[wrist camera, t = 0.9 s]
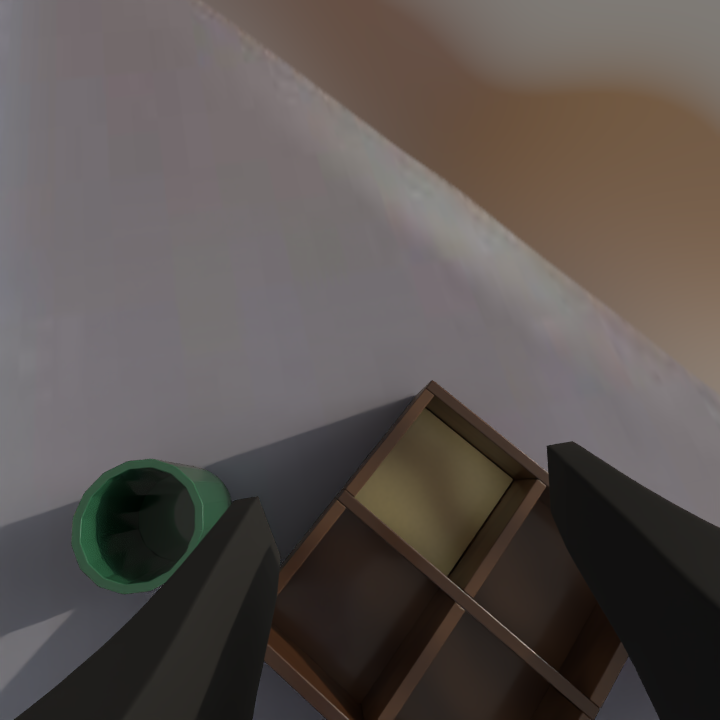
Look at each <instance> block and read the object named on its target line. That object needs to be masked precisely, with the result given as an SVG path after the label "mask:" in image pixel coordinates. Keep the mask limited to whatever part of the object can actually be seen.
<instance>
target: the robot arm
mask: <svg viewBox="0 0 720 720" xmlns="http://www.w3.org/2000/svg"><path fill="white" fill-rule="evenodd" d="M547 457H548V474H549V491H550V507H551V514H552V516H553V518H554V521H555V523H556V525H557V528H558V530H559V532H560V535H561V537H562V539H563V541H564V544H565V546H566V548H567V550H568V552H569V554H570V556H571V557H572V559H573V561H574V563H575V564H576V566H577V568H578V569H579V571H580V573H581V575H582V576H583V578H584V580H585V581H586V583H587V585H588V587H589V588H590V590H591V592H592V593H593V595H594V597H595V598H596V600H597V602H598V603H599V605H600V607H601V609H602V610H603V612H604V614H605V615H606V617H607V619H608V620H609V622H610V624H611V625H612V627H613V629H614V631H615V632H616V634H617V636H618V637H619V639H620V641H621V642H622V644H623V646H624V648H625V650H626V652H627V653H628V655H629V657H630V659H631V661H632V663H633V665H634V666H635V668H636V671H637V673H638V675H639V677H640V679H641V681H642V683H643V685H644V687H645V689H646V691H647V694H648V696H649V698H650V700H651V702H652V704H653V706H654V708H655V710H656V712H657V714H658V717H659V719H660V720H720V528H719V527H717V526H715V525H713V524H711V523H709V522H707V521H705V520H703V519H701V518H699V517H697V516H695V515H694V514H692V513H690V512H688V511H686V510H684V509H683V508H681V507H679V506H677V505H675V504H673V503H671V502H670V501H668V500H666V499H664V498H663V497H661V496H659V495H657V494H656V493H654V492H652V491H651V490H649V489H647V488H646V487H644V486H642V485H641V484H639V483H637V482H636V481H634V480H632V479H631V478H629V477H628V476H626V475H624V474H623V473H621V472H620V471H618V470H617V469H615V468H613V467H612V466H610V465H609V464H607V463H606V462H604V461H603V460H601V459H600V458H598V457H596V456H595V455H593V454H592V453H590V452H589V451H587V450H586V449H584V448H583V447H581V446H580V445H578V444H576V443H575V442H573V441H571V442H566V443H560V444H554V445H549V446H547ZM279 569H280V554H279V551H278V548H277V546H276V543H275V540H274V538H273V535H272V532H271V530H270V527H269V524H268V522H267V519H266V516H265V514H264V511H263V508H262V505H261V503H260V500H259V497H258V496H257V497H251V498H245V499H240V500H235V501H234V502H233V503H232V504H231V505H230V507H229V508H228V509H227V510H226V511H225V512H224V514H223V515H222V516H221V517H220V519H219V520H218V521H217V522H216V523H215V525H214V526H213V527H212V528H211V530H210V531H209V532H208V533H207V535H206V536H205V537H204V538H203V539H202V541H201V542H200V543H199V544H198V545H197V547H196V548H195V549H194V550H193V551H192V553H191V554H190V555H189V556H188V557H187V559H186V560H185V561H184V562H183V563H182V565H181V566H180V567H179V568H178V569H177V570H176V571H175V572H174V573H173V575H172V576H171V577H170V578H169V579H168V580H167V581H166V582H165V583H164V585H163V586H162V587H161V588H160V589H159V590H158V591H157V592H156V593H155V594H154V596H153V597H152V598H151V599H150V600H149V601H148V602H147V603H146V604H145V605H144V606H143V607H142V608H141V609H140V610H139V611H138V612H137V613H136V614H135V615H134V616H133V617H132V618H131V619H130V621H128V622H127V623H126V624H125V625H124V626H123V627H122V628H121V629H120V630H119V631H118V632H117V633H116V634H115V635H114V636H113V637H112V638H111V639H110V640H109V641H108V642H106V643H105V644H104V645H103V646H102V647H101V648H100V649H99V650H98V651H97V652H95V653H94V654H93V655H92V656H91V657H90V658H88V659H87V660H86V661H85V662H84V663H83V664H81V665H80V666H79V667H78V668H77V669H76V670H74V671H73V672H72V673H71V674H70V675H69V676H67V677H66V678H65V679H64V680H63V681H62V682H61V683H59V684H58V685H57V686H56V687H55V688H53V689H52V690H51V691H50V692H48V693H47V694H46V695H45V696H43V697H42V698H41V699H40V700H38V701H37V702H36V703H35V704H33V705H32V706H31V707H30V708H28V709H27V710H26V711H24V712H23V713H22V714H20V715H19V716H18V717H16V718H15V719H14V720H252V719H253V713H254V707H255V701H256V695H257V690H258V686H259V681H260V676H261V672H262V667H263V662H264V657H265V653H266V648H267V643H268V639H269V634H270V629H271V624H272V619H273V615H274V610H275V605H276V599H277V592H278V582H279Z"/></svg>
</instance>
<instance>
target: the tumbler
mask: <svg viewBox="0 0 720 720" xmlns="http://www.w3.org/2000/svg"><path fill="white" fill-rule="evenodd" d="M231 504H232V501H231V497H230V494H229V492H228V490H227V488H226V486H225V485H224V484H223V482H222V481H221V480H220V479H219V478H218V477H217V476H215V475H214V474H213V473H211V472H209V471H207V470H204V469H201V468H197V467H194V466H190V465H184V464H179V463H173V462H167V461H162V460H156V459H145V460H134V461H128V462H125V463H123V464H121V465H119V466H117V467H115V468H113V469H111V470H109V471H106V472H105V473H103V474H102V475H101V476H100V477H99V478H98V479H97V480H96V481H95V482H94V483H93V484H92V485H91V486H90V487H89V488H88V489H87V490H86V491H85V493H84V494H83V497H82V499H81V501H80V503H79V505H78V508H77V510H76V512H75V514H74V516H73V522H72V538H71V544H72V545H71V546H72V549H73V551H74V554H75V557H76V559H77V562H78V565H79V568H80V569H81V570H82V571H83V572H84V573H85V574H86V575H87V576H88V577H89V578H90V579H91V580H92V581H93V582H94V583H95V584H96V585H97V586H99V587H101V588H104V589H107V590H110V591H114V592H117V593H120V594H132V593H140V592H148V591H152V590H154V589H155V588H157V587H159V586H161V585H163V584H164V583H165V582H166V581H167V580H168V579H169V578H170V577H171V576H172V575H173V573H174V572H175V571H176V570H177V569H178V568H179V567H180V566H181V565H182V563H183V562H184V561H185V560H186V559H187V557H188V556H189V555H190V554H191V553H192V551H193V550H194V549H195V548H196V547H197V545H198V544H199V543H200V542H201V541H202V539H203V538H204V537H205V536H206V535H207V533H208V532H209V531H210V530H211V528H212V527H213V526H214V525H215V523H216V522H217V521H218V520H219V519H220V517H221V516H222V515H223V514H224V512H225V511H226V510H227V509H228V508H229V507H230V505H231Z"/></svg>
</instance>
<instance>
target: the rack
mask: <svg viewBox="0 0 720 720" xmlns="http://www.w3.org/2000/svg"><path fill="white" fill-rule="evenodd" d="M628 656H629V655H628V653H627V652H626V650H625V648H624V646H623V644H622V642H621V641H620V639H619V637H618V636H617V634H616V632H615V631H614V629H613V627H612V625H611V624H610V622H609V620H608V619H607V617H606V615H605V614H604V612H603V610H602V609H601V607H600V605H599V603H598V602H597V600H596V598H595V597H594V595H593V593H592V592H591V590H590V588H589V587H588V585H587V583H586V581H585V580H584V578H583V576H582V575H581V573H580V571H579V569H578V568H577V566H576V564H575V563H574V561H573V559H572V557H571V556H570V554H569V552H568V550H567V548H566V546H565V544H564V541H563V539H562V537H561V535H560V532H559V530H558V528H557V525H556V523H555V521H554V518H553V516H552V514H551V507H550V491H549V474H548V472H547V471H545V470H544V469H543V468H542V467H540V466H539V465H538V464H537V463H535V462H534V461H533V460H532V459H531V458H529V457H528V456H527V455H526V454H524V453H523V452H522V451H521V450H519V449H518V448H517V447H516V446H514V445H513V444H512V443H511V442H509V441H508V440H507V439H506V438H504V437H503V436H502V435H501V434H499V433H498V432H497V431H496V430H494V429H493V428H492V427H491V426H489V425H488V424H487V423H486V422H484V421H483V420H482V419H481V418H479V417H478V416H477V415H476V414H474V413H473V412H472V411H471V410H469V409H468V408H467V407H466V406H464V405H463V404H462V403H461V402H459V401H458V400H457V399H456V398H454V397H453V396H452V395H451V394H449V393H448V392H447V391H446V390H444V389H443V388H442V387H441V386H439V385H438V384H437V383H436V382H434V381H433V380H432V381H430V382H429V383H428V384H427V385H426V386H425V387H424V388H423V389H422V390H421V391H420V392H419V393H418V394H417V395H416V397H415V398H414V399H413V400H412V402H411V403H410V404H409V405H408V407H407V408H406V409H405V410H404V412H403V413H402V414H401V415H400V417H399V418H398V419H397V420H396V422H395V423H394V424H393V426H392V427H391V428H390V429H389V431H388V432H387V433H386V434H385V436H384V437H383V438H382V439H381V441H380V442H379V443H378V444H377V446H376V447H375V448H374V449H373V451H372V452H371V453H370V454H369V456H368V457H367V458H366V459H365V461H364V462H363V463H362V464H361V466H360V467H359V468H358V469H357V471H356V472H355V473H354V474H353V476H352V477H351V478H350V479H349V481H348V482H347V483H346V484H345V486H344V487H343V488H342V489H341V491H340V492H339V493H338V494H337V496H336V497H335V498H334V499H333V501H332V502H331V503H330V504H329V506H328V507H327V508H326V509H325V511H324V512H323V513H322V514H321V516H320V517H319V518H318V519H317V521H316V522H315V523H314V524H313V526H312V527H311V528H310V529H309V531H308V532H307V533H306V534H305V536H304V537H303V538H302V539H301V541H300V542H299V543H298V544H297V546H296V547H295V548H294V549H293V551H292V552H291V553H290V555H289V556H288V557H287V558H286V560H285V561H284V562H283V563H282V565H281V566H280V569H279V582H278V592H277V599H276V605H275V610H274V615H273V619H272V624H271V629H270V634H269V639H268V643H267V648H266V653H265V657H264V661H265V662H266V663H267V664H268V665H269V666H270V667H271V668H272V669H273V670H274V671H275V672H276V673H277V674H279V675H280V676H281V677H282V678H283V679H284V680H285V681H286V682H287V683H288V684H289V685H290V686H291V687H292V688H294V689H295V690H296V691H297V692H298V693H299V694H300V695H301V696H302V697H303V698H304V699H305V700H306V701H307V702H309V703H310V704H311V705H312V706H313V707H314V708H315V709H316V710H317V711H318V712H319V713H320V714H321V715H322V716H323V717H325V718H326V719H327V720H594V719H595V718H596V716H597V714H598V712H599V710H600V708H601V707H602V705H603V703H604V701H605V699H606V697H607V696H608V694H609V692H610V690H611V688H612V686H613V684H614V682H615V681H616V679H617V677H618V675H619V673H620V671H621V669H622V667H623V666H624V664H625V662H626V660H627V658H628Z"/></svg>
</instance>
